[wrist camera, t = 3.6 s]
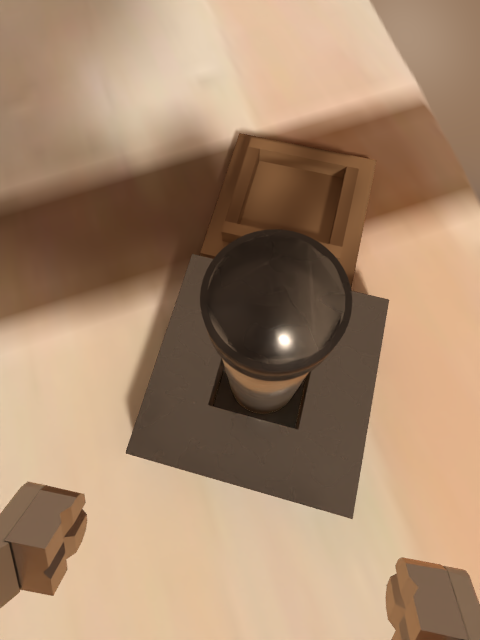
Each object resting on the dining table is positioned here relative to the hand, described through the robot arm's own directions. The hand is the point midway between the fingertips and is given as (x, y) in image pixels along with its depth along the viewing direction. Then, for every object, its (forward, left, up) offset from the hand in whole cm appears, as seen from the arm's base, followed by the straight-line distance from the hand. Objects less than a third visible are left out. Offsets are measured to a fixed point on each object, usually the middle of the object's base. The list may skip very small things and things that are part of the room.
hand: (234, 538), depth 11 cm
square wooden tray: (-2, +18, -13) cm, 23 cm away
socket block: (-1, +6, -13) cm, 15 cm away
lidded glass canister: (-1, +6, -13) cm, 15 cm away
